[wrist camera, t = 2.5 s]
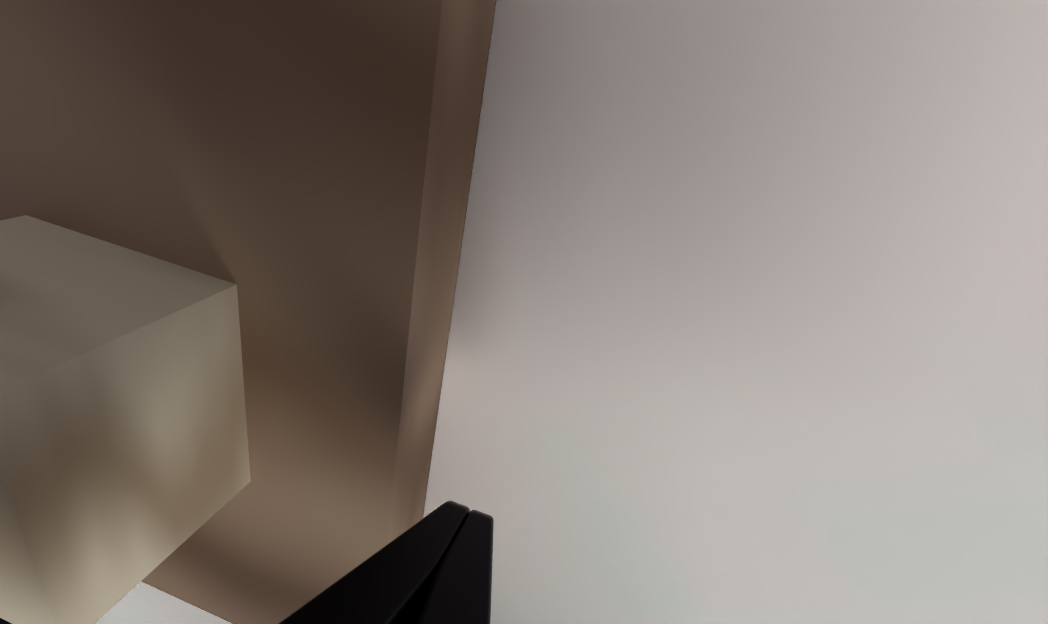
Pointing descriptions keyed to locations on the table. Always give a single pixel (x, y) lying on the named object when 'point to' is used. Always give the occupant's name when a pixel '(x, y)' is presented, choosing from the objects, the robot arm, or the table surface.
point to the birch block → (108, 417)
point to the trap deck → (273, 237)
